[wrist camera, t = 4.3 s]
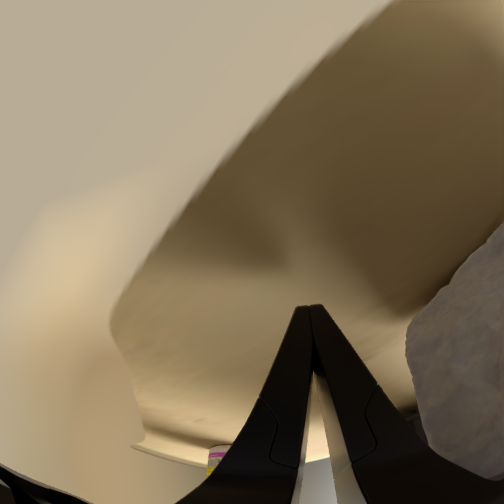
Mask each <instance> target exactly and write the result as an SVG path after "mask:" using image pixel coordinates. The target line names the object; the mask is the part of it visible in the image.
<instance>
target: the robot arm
mask: <svg viewBox="0 0 504 504" xmlns="http://www.w3.org/2000/svg"><path fill="white" fill-rule="evenodd" d="M313 370H314V376H315V381H316V385H317V390H318V395H319V400H320V405H321V410H322V416H323V421H324V426H325V431H326V437H327V442H328V448H329V453H330V459H331V465H332V471H333V476H334V479H335V480H334V483H335V489H336V496H337V503H338V504H504V472H503V473H500V474H498V475H495V476H493V477H490V478H488V479H486V478H484V477H482V476H479V475H477V474H475V473H473V472H471V471H469V470H467V469H465V468H463V467H461V466H459V465H457V464H455V463H453V462H451V461H449V460H447V459H445V458H443V457H442V456H440V455H439V454H438V453H436V452H435V451H434V450H433V449H432V448H431V447H430V446H429V444H428V440H427V436H426V433H425V431H424V429H423V426H422V420H421V417H420V413H419V414H416V415H412V416H409V417H405V418H404V417H403V416H402V415H401V414H400V413H399V411H398V410H397V409H396V408H395V407H394V405H393V404H392V402H391V401H390V400H389V398H388V397H387V396H386V394H385V393H384V391H383V390H382V388H381V387H380V386H379V385H377V381H376V380H375V378H374V377H373V376H372V374H371V373H370V371H369V370H368V368H367V367H366V365H365V364H364V363H363V361H362V360H361V358H360V357H359V355H358V354H357V353H356V351H355V350H354V348H353V347H352V345H351V344H350V343H349V341H348V340H347V338H346V337H345V335H344V334H343V333H342V331H341V330H340V328H339V327H338V326H337V324H336V323H335V321H334V320H333V319H332V317H331V316H330V315H329V313H328V312H327V310H326V309H325V308H324V306H323V305H322V304H313V305H310V306H308V305H304V306H297V307H296V308H295V310H294V313H293V315H292V318H291V320H290V323H289V326H288V328H287V331H286V333H285V336H284V338H283V340H282V343H281V345H280V348H279V350H278V353H277V355H276V357H275V360H274V362H273V365H272V367H271V369H270V372H269V374H268V376H267V379H266V381H265V383H264V385H263V388H262V390H261V392H260V394H259V398H258V399H257V401H256V403H255V405H254V407H253V409H252V411H251V413H250V415H249V417H248V419H247V421H246V423H245V425H244V426H243V428H242V430H241V431H240V433H239V434H238V436H237V438H236V439H235V441H234V442H233V444H232V445H231V446H230V448H229V449H228V451H227V452H226V454H225V455H224V456H223V458H222V459H221V461H220V462H219V463H218V465H217V466H216V468H215V469H214V470H213V471H212V473H211V474H210V475H209V476H208V477H207V478H206V479H205V480H204V481H203V482H202V483H201V484H200V485H199V486H198V487H196V488H195V489H194V490H193V491H191V492H190V493H189V494H187V495H186V496H185V497H183V498H182V499H180V500H179V501H178V502H176V503H175V504H299V499H300V493H301V486H302V480H303V472H304V465H305V458H306V450H307V441H308V432H309V422H310V412H311V400H312V387H313ZM0 504H93V503H90V502H88V501H86V500H84V499H82V498H80V497H77V496H75V495H72V494H70V493H68V492H65V491H62V490H60V489H57V488H54V487H51V486H49V485H46V484H43V483H41V482H38V481H36V480H33V479H31V478H29V477H27V476H25V475H22V474H20V473H18V472H16V471H14V470H12V469H10V468H8V467H6V466H4V465H2V464H0Z"/></svg>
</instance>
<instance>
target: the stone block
mask: <svg viewBox="0 0 504 504" xmlns="http://www.w3.org/2000/svg"><path fill="white" fill-rule="evenodd" d="M406 337H407V339H406V342H405V343H406V349H405V356H406V359H407V363H408V366H409V369H410V372H411V374H412V376H413V378H412V380H413V384H414V390H415V395H416V400H417V404H418V409H419V413H420V417H421V420H422V426H423V429H424V431H425V433H426V436H427V440H428V444H429V446H430V447H431V448H432V449H433V450H434V451H435V452H436V453H438V454H439V455H440V456H442V457H443V458H445V459H447V460H449V461H451V462H453V463H455V464H457V465H459V466H461V467H463V468H465V469H467V470H469V471H471V472H473V473H475V474H477V475H479V476H482V477H484V478H486V479H488V478H490V477H493V476H495V475H498V474H500V473H503V472H504V222H503V223H502V224H501V225H500V226H499V227H498V228H497V229H496V230H495V231H494V233H493V234H492V235H491V236H490V237H489V238H488V239H487V242H486V243H485V244H483V245H482V246H481V247H479V248H478V249H477V250H476V251H475V252H473V253H472V254H471V255H469V257H468V258H467V260H466V261H465V262H464V263H463V264H462V265H461V266H460V267H459V268H458V270H457V271H456V272H455V274H454V275H453V277H452V279H451V281H450V283H449V285H446V286H445V287H443V288H440V290H439V291H438V293H437V294H436V296H435V297H434V298H433V299H432V300H431V301H430V302H429V303H428V304H427V305H426V306H425V307H424V308H423V309H422V311H421V312H420V313H419V314H417V315H416V316H415V317H414V318H413V319H412V321H411V323H410V324H409V326H408V328H407V333H406Z"/></svg>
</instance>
